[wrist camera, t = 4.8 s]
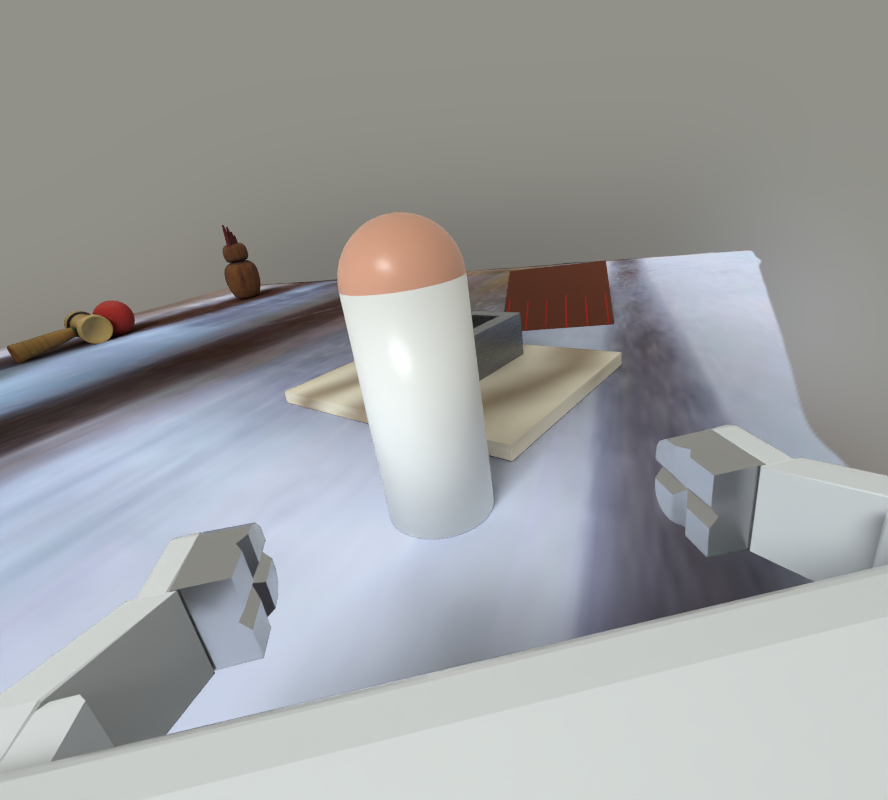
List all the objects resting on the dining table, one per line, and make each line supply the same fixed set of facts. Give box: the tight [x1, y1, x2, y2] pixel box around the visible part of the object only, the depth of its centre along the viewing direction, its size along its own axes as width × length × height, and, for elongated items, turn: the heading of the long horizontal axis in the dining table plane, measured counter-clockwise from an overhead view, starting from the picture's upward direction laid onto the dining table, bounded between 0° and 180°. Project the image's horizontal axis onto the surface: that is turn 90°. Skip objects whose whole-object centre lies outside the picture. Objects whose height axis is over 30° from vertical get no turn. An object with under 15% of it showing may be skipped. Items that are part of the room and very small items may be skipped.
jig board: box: [285, 344, 621, 461], centre depth 39 cm, size 22×16×1 cm
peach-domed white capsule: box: [337, 212, 494, 539], centre depth 21 cm, size 5×5×14 cm
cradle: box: [471, 311, 524, 381], centre depth 39 cm, size 9×9×4 cm
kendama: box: [7, 301, 135, 363], centre depth 79 cm, size 8×6×18 cm
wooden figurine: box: [222, 225, 260, 299], centre depth 102 cm, size 7×6×15 cm
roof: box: [504, 261, 614, 331], centre depth 59 cm, size 24×11×5 cm, turn 167°
